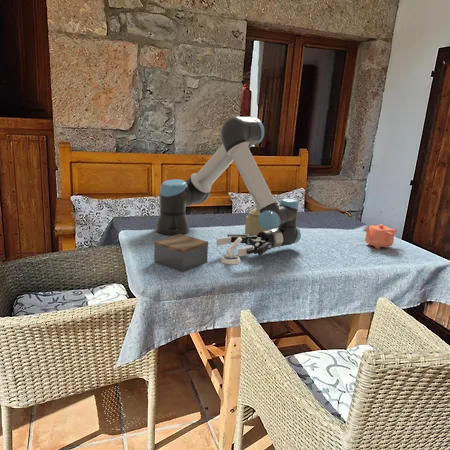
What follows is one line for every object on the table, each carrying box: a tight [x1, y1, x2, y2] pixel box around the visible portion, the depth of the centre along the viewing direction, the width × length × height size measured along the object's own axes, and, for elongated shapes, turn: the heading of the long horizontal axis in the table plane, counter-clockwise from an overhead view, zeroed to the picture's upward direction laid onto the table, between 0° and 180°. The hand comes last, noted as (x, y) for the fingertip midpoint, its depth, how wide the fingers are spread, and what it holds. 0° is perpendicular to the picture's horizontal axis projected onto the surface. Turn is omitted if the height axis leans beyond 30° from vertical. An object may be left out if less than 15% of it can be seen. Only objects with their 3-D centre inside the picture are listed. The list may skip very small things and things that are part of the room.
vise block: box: [153, 234, 209, 273], centre depth 157 cm, size 14×14×8 cm
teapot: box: [364, 223, 397, 250], centre depth 189 cm, size 14×12×10 cm
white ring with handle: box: [220, 237, 242, 266], centre depth 160 cm, size 8×12×7 cm
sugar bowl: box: [244, 207, 268, 236], centre depth 197 cm, size 15×11×15 cm
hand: (227, 247), depth 159 cm, fingers open, 13 cm apart
